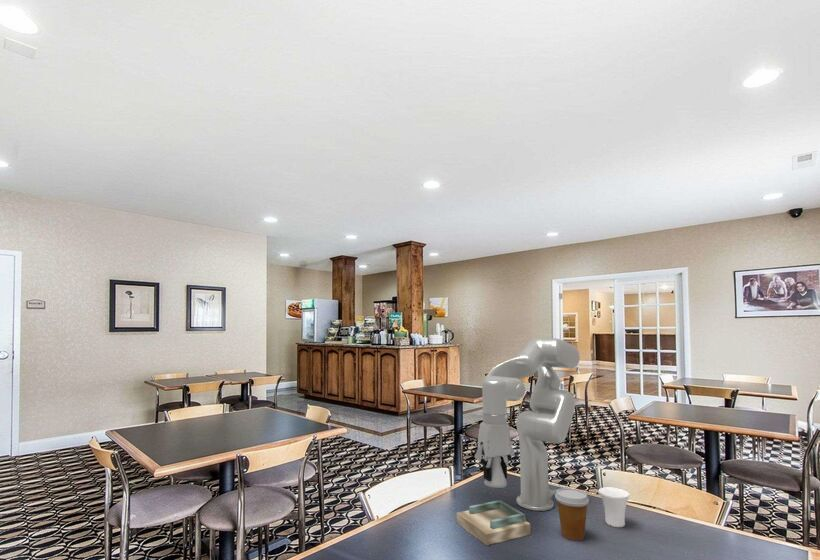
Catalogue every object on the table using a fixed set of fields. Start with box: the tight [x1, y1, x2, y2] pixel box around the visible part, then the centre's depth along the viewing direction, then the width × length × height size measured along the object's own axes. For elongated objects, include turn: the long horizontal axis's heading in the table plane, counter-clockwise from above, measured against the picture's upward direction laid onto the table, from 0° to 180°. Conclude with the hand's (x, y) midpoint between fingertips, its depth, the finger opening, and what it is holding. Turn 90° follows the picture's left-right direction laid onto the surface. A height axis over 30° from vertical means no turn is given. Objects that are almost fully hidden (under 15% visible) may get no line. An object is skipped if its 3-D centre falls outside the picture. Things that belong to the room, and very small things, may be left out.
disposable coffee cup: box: [554, 487, 590, 541], centre depth 128 cm, size 10×10×12 cm
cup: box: [597, 486, 630, 528], centre depth 136 cm, size 9×9×10 cm
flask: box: [483, 457, 508, 489], centre depth 134 cm, size 7×7×10 cm
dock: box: [456, 499, 531, 546], centre depth 132 cm, size 16×16×5 cm
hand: (495, 478), depth 134 cm, fingers closed on flask, 5 cm apart
